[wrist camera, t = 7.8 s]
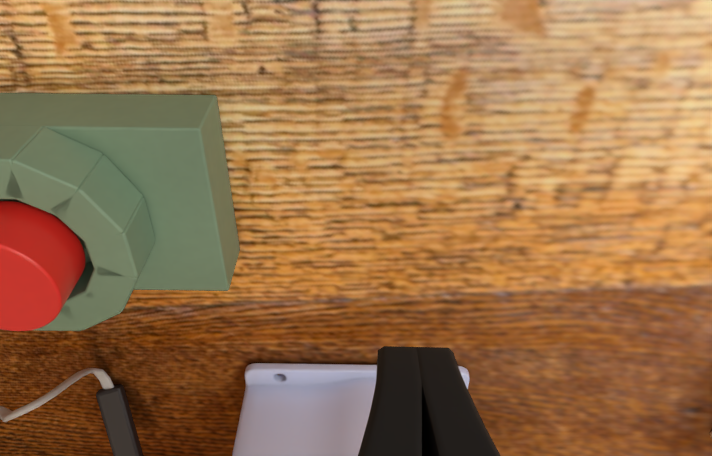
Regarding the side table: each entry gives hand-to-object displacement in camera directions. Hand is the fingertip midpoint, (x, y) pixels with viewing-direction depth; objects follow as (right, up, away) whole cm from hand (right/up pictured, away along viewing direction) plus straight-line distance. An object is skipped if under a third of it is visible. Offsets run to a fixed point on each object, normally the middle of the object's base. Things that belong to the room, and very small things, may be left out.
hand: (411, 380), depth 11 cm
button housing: (-10, +5, +8) cm, 14 cm away
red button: (-10, +3, +5) cm, 12 cm away
